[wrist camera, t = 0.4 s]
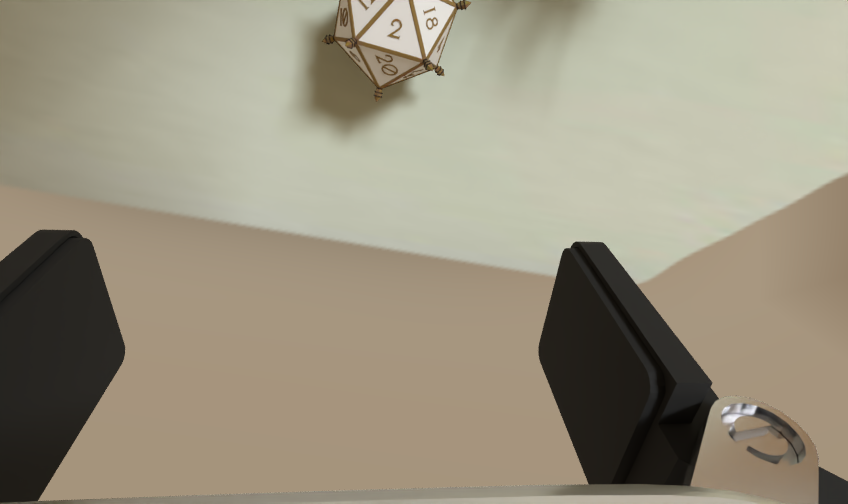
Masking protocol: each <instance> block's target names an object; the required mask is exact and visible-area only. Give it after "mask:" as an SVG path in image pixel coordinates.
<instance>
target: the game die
mask: <svg viewBox="0 0 848 504" xmlns="http://www.w3.org/2000/svg"><path fill="white" fill-rule="evenodd" d="M470 4H471V2H468V1H465V0H463V1H460V2H459V3H455V2H454V1H453V0H340V1H339V7H338V13H337V19H336V25H335V32H334V35H333V36H331V35H329V36H327V35H326V37H325V38H324V39H323V41H322V42H325V43H327V44H330V43H333V42H334V41H336V42H337V43H338V44H339V46H340V47H341V48H342V49H343V50H344V51H345V52H346V53H347V54H348V56H349V57H350V58H351V59H352V60H353V61H354V62H355V63H356V64H357V66H358V67H359V68H360V69H361V70H362V71H363V72H364V73H365V74H366V76H367V77H368V78H369V79H370V80H371V81H372V82H373V83H374V84H375V86H376V87H377V89H376V91H375V95H374V96H375V99H376V102H377V101H378V100H379V99H380V98H381V97H382V94H383V93H382V89H383V88H385V87H388V86H391V85H393V84H396V83H399V82H401V81H404V80H407V79H409V78H412V77H415V76H417V75H420V74H423V73H425V72H428V71H433V69H435V73H437V75H439V76H440V75H442V76H444V69H442V68H441V66H440V67H439V66H438V63H439V60H440V57H441V54H442V51H443V49H444V46H445V43H446V40H447V37H448V34H449V31H450V29H451V26H452V23H453V20H454V17H455V14H456V11H457V10H458V9H461V10H462V9H465V10H466V8H467V7H468V6H469V5H470Z"/></svg>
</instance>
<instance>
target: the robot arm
mask: <svg viewBox="0 0 848 504" xmlns="http://www.w3.org/2000/svg"><path fill="white" fill-rule="evenodd" d="M124 355H125V345H124V342H123V339H122V335H121V332H120V329H119V326H118V323H117V320H116V317H115V313H114V310H113V307H112V304H111V301H110V297H109V295H108V291H107V288H106V285H105V282H104V279H103V275H102V272H101V269H100V266H99V263H98V260H97V257H96V253H95V250H94V247H93V245H92V242H91V241H90V240H89V239H87V238H83V237H82V235H81V234H80V233H79V232H77V231H75V230H39V231H37V232H36V233H34V234H33V235H32V236H31V237H29V238H28V239H27V240H26V241H25V242H23V243H22V244H21V245H20V246H19V247H17V248H16V249H15V250H14V251H12V252H11V253H10V254H9V255H8V256H6V257H5V258H4V259H3V260H2V261H1V262H0V504H848V481H846V480H844V479H842V478H840V477H838V476H836V475H834V474H832V473H830V472H828V471H826V470H824V469H823V468H821V467H819V458H818V454H817V450H816V446H815V444H814V443H813V442H812V440H811V438H810V437H809V435H808V434H807V433H806V432H805V431H804V430H803V429H802V428H801V427H800V426H799V425H798V424H797V423H796V422H795V421H794V420H792V419H791V418H790V417H788V416H787V415H786V414H784V413H783V412H781V411H779V410H778V409H776V408H774V407H772V406H770V405H768V404H766V403H763V402H760V401H758V400H755V399H752V398H747V397H741V396H728V397H723V398H721V399H719V398H718V397H717V395H716V394H715V393H714V391H713V390H712V389H711V388H710V387H711V385H712V382H711V380H710V379H709V378H708V376H707V375H706V374H705V373H704V371H703V370H702V369H701V367H700V366H699V365H698V364H697V362H696V361H695V360H694V358H693V357H692V356H691V355H690V353H689V352H688V351H687V349H686V348H685V347H684V345H683V344H682V343H681V342H680V340H679V339H678V338H677V337H676V335H675V334H674V333H673V331H672V330H671V329H670V328H669V326H668V325H667V324H666V322H665V321H664V320H663V318H662V317H661V316H660V314H659V313H658V312H657V311H656V309H655V308H654V307H653V305H652V304H651V303H650V302H649V300H648V299H647V298H646V296H645V295H644V294H643V293H642V291H641V290H640V289H639V287H638V286H637V285H636V284H635V282H634V281H633V280H632V278H631V277H630V276H629V274H628V273H627V272H626V271H625V269H624V268H623V267H622V265H621V264H620V263H619V262H618V260H617V259H616V258H615V256H614V255H613V254H612V253H611V251H610V250H609V249H608V247H607V246H606V245H605V244H604V243H602V242H575V243H573V245H572V246H571V248H566V249H564V251H563V253H562V256H561V260H560V264H559V268H558V272H557V276H556V280H555V284H554V288H553V291H552V295H551V300H550V303H549V307H548V311H547V316H546V319H545V323H544V327H543V331H542V335H541V339H540V343H539V359H540V362H541V365H542V368H543V370H544V373H545V375H546V378H547V380H548V383H549V385H550V388H551V390H552V393H553V395H554V398H555V400H556V403H557V405H558V408H559V410H560V413H561V416H562V418H563V420H564V423H565V426H566V428H567V431H568V433H569V436H570V438H571V441H572V443H573V446H574V448H575V450H576V453H577V456H578V458H579V461H580V463H581V466H582V468H583V471H584V473H585V476H586V478H587V481H588V484H589V485H529V486H528V485H526V486H488V487H452V488H451V487H450V488H413V489H379V490H347V491H316V492H315V491H314V492H283V493H253V494H223V495H192V496H167V497H139V498H112V499H86V500H61V501H60V500H59V501H38V500H39V498H40V496H41V495H42V493H43V491H44V490H45V488H46V486H47V485H48V483H49V482H50V480H51V478H52V477H53V475H54V473H55V472H56V470H57V469H58V467H59V465H60V464H61V462H62V460H63V459H64V457H65V455H66V454H67V452H68V451H69V449H70V447H71V446H72V444H73V443H74V441H75V439H76V438H77V436H78V434H79V433H80V431H81V429H82V428H83V426H84V425H85V423H86V421H87V420H88V418H89V416H90V415H91V413H92V412H93V410H94V408H95V407H96V405H97V403H98V402H99V400H100V398H101V397H102V395H103V394H104V392H105V390H106V389H107V387H108V386H109V384H110V382H111V381H112V379H113V377H114V376H115V374H116V373H117V371H118V369H119V367H120V366H121V364H122V362H123V360H124Z"/></svg>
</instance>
